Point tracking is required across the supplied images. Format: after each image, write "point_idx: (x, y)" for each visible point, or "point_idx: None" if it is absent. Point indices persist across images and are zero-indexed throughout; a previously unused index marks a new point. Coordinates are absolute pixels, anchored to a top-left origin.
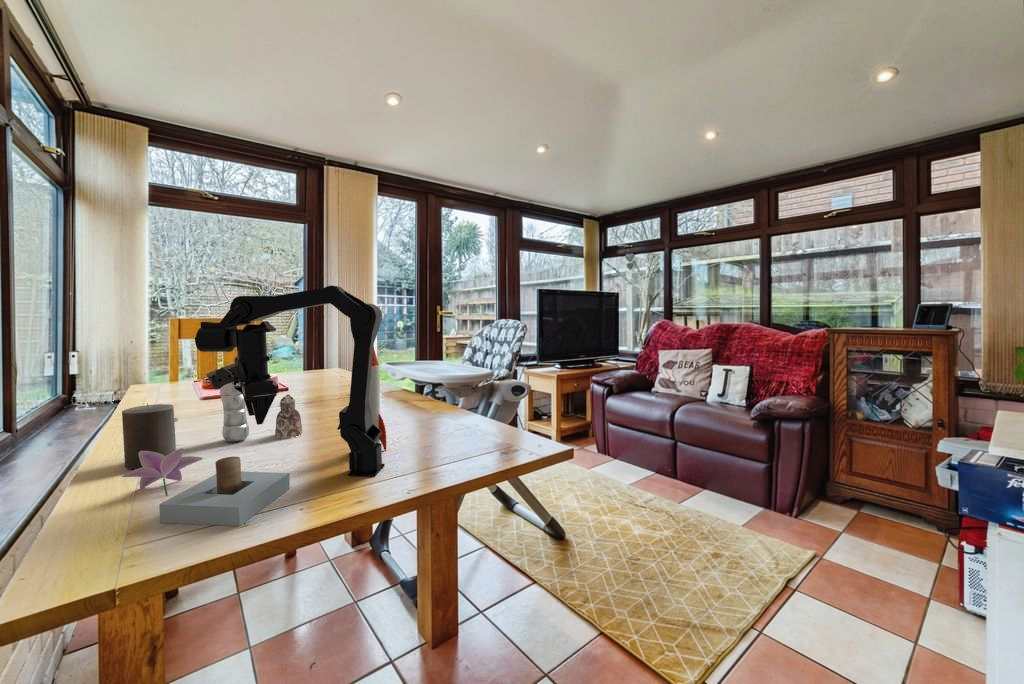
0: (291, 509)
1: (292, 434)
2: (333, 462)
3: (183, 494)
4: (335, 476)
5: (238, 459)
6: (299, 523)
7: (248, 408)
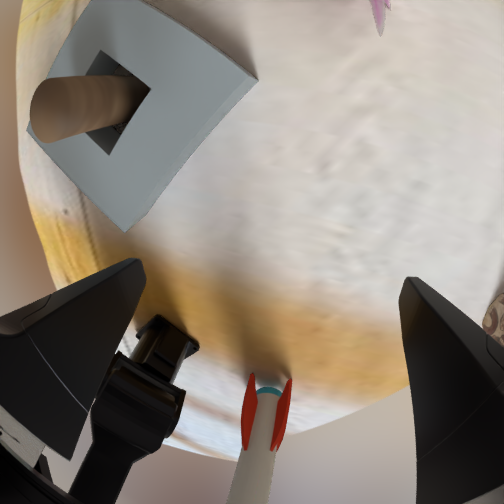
0: (69, 198)
1: (489, 319)
2: (250, 327)
3: (122, 9)
4: (167, 299)
5: (43, 139)
6: (37, 200)
7: (423, 310)
